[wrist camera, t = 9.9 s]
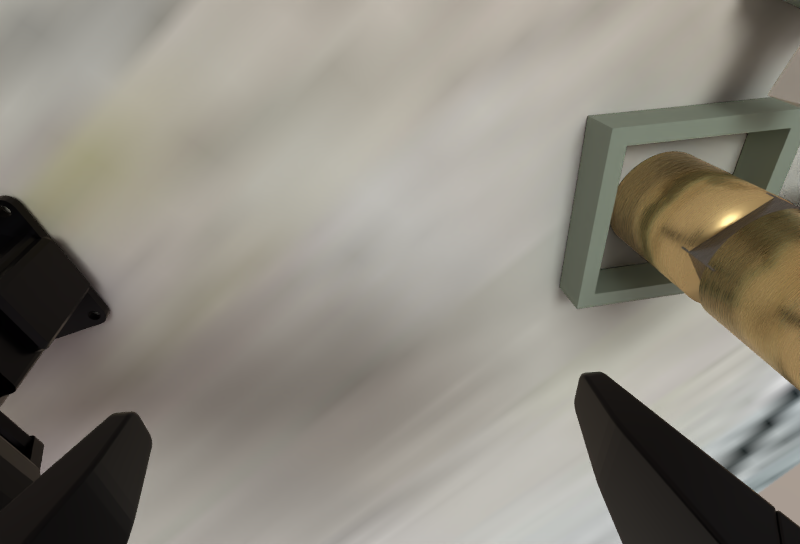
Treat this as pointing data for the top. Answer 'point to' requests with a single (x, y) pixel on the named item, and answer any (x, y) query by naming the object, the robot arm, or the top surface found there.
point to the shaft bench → (611, 134)
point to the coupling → (720, 248)
